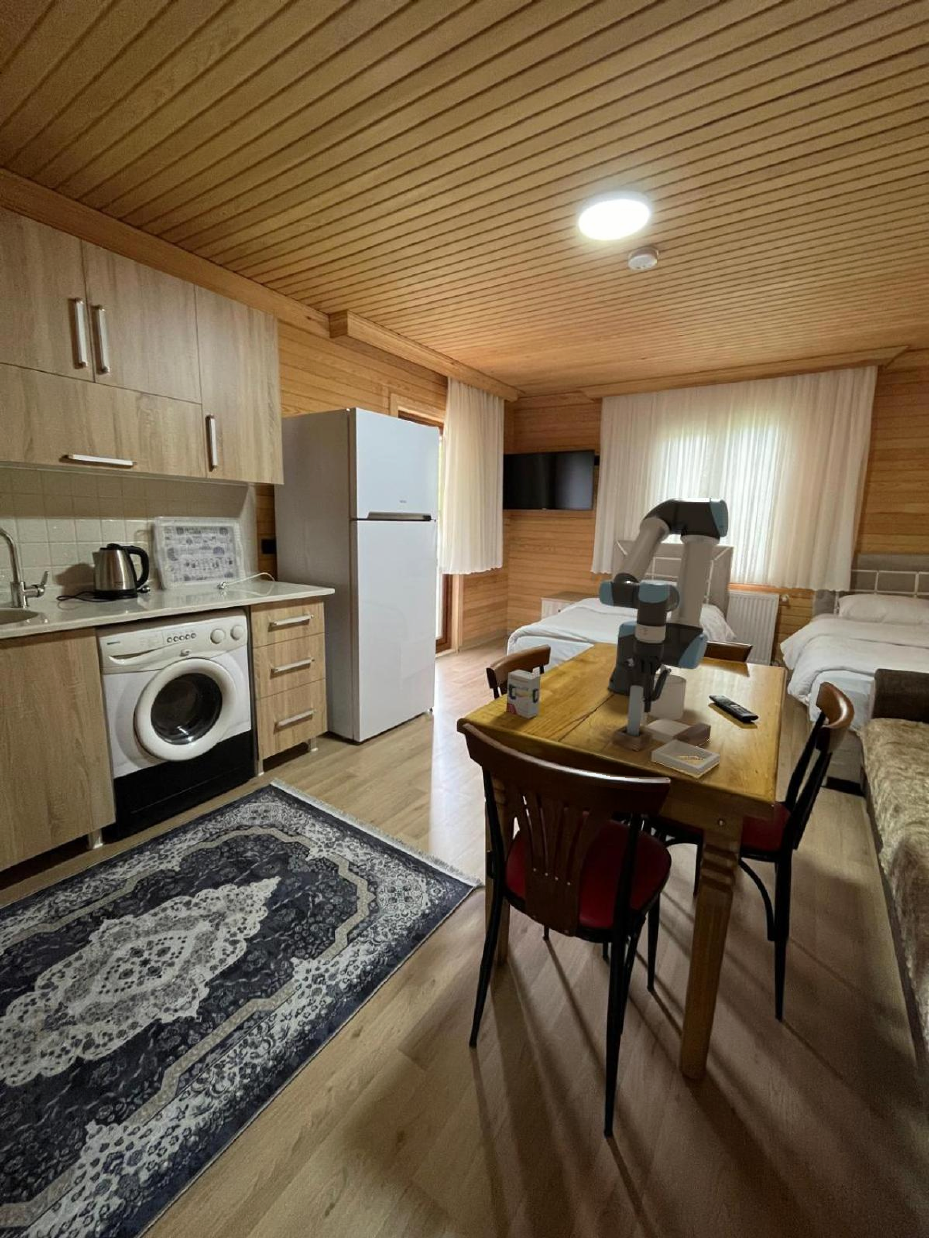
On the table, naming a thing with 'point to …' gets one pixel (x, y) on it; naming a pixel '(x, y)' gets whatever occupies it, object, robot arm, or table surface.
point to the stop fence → (695, 734)
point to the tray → (678, 748)
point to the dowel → (634, 710)
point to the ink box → (523, 693)
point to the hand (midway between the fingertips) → (641, 722)
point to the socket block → (632, 739)
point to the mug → (670, 698)
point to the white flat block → (665, 729)
